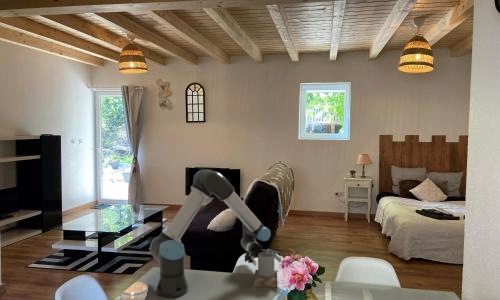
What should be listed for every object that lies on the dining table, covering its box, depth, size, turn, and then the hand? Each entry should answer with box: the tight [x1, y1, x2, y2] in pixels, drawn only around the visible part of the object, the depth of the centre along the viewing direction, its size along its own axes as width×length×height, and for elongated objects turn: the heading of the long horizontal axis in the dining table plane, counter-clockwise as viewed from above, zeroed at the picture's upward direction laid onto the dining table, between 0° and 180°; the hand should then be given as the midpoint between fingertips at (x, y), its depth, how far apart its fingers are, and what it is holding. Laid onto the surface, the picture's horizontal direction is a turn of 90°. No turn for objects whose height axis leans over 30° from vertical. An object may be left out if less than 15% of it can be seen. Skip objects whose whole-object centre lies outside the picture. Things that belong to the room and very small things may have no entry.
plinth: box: [253, 269, 279, 288], centre depth 191 cm, size 12×12×4 cm
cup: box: [257, 252, 275, 277], centre depth 191 cm, size 8×8×10 cm
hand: (268, 261), depth 188 cm, fingers open, 13 cm apart
